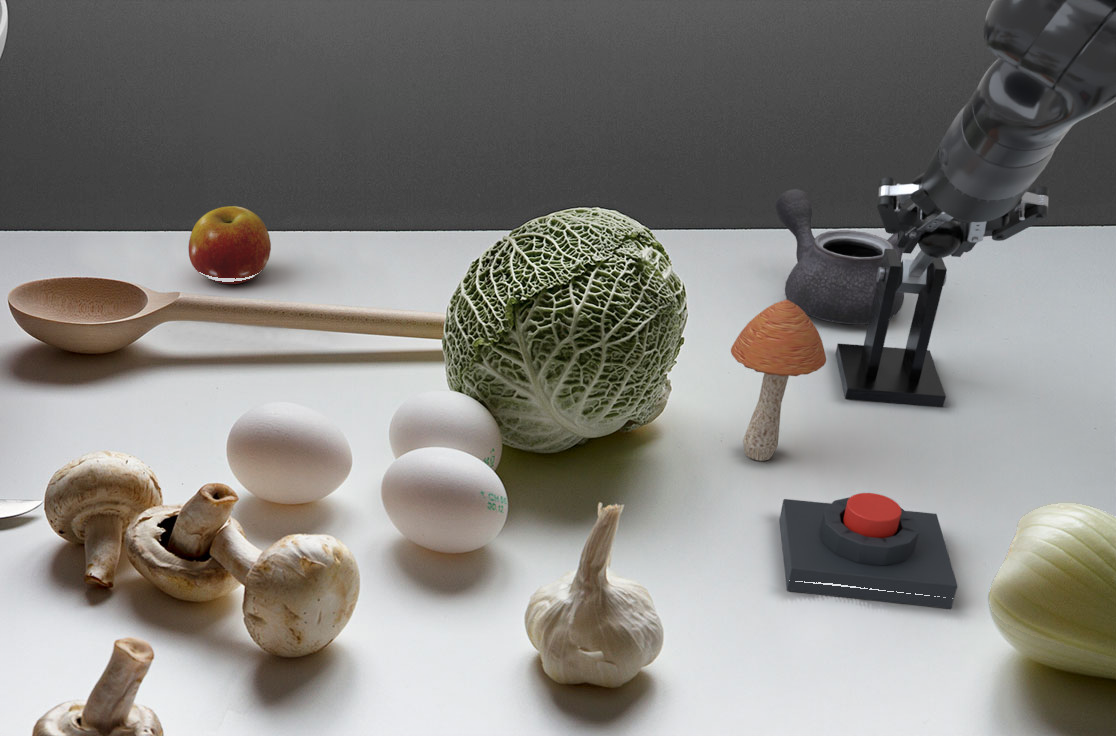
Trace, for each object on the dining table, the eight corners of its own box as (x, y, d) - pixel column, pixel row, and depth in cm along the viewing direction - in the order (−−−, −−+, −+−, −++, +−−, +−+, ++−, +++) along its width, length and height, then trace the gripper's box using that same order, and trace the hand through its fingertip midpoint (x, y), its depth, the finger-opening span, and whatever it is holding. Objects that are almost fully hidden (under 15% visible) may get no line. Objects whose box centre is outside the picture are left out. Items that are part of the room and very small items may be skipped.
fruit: (203, 298, 147) (197, 231, 143) (181, 270, 154) (175, 205, 150) (283, 284, 150) (279, 218, 146) (257, 257, 157) (254, 193, 153)
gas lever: (966, 250, 111) (969, 210, 111) (922, 247, 111) (925, 208, 112) (926, 300, 124) (928, 265, 124) (886, 298, 124) (889, 262, 125)
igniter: (893, 513, 102) (898, 495, 101) (900, 542, 99) (905, 523, 98) (840, 508, 103) (844, 490, 102) (845, 536, 100) (850, 517, 99)
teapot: (942, 309, 143) (964, 222, 137) (845, 342, 136) (864, 252, 130) (811, 254, 156) (826, 173, 151) (717, 282, 150) (729, 198, 144)
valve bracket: (943, 407, 124) (975, 283, 117) (845, 399, 126) (871, 276, 119) (927, 360, 132) (956, 242, 125) (835, 353, 134) (859, 236, 127)
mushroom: (782, 427, 121) (810, 278, 113) (822, 471, 114) (854, 316, 106) (701, 435, 120) (724, 285, 112) (737, 480, 113) (763, 324, 105)
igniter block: (930, 535, 106) (942, 494, 104) (951, 609, 98) (963, 566, 96) (779, 520, 108) (787, 479, 106) (786, 591, 100) (795, 548, 98)
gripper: (1092, 114, 99) (1016, 212, 116) (898, 104, 102) (851, 201, 118) (1089, 204, 98) (1012, 290, 114) (892, 192, 100) (845, 278, 117)
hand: (930, 244), depth 116 cm, fingers closed on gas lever, 3 cm apart
